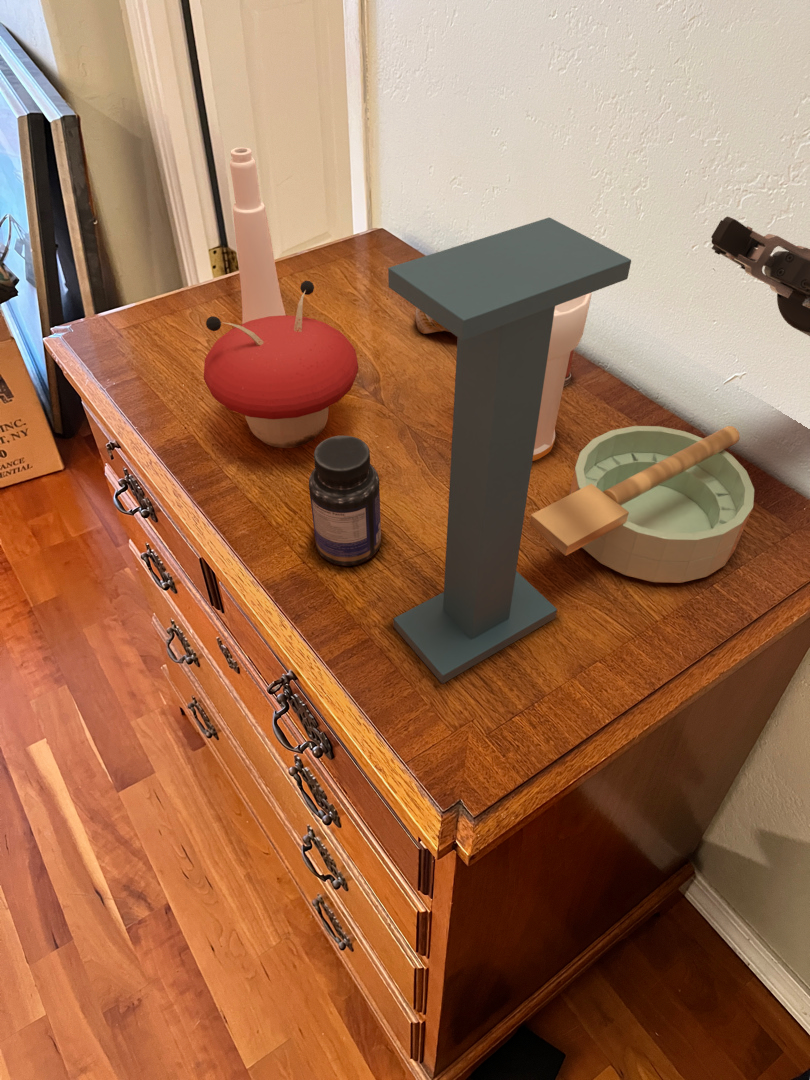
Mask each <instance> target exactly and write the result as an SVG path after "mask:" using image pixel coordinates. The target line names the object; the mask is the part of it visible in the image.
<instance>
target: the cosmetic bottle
mask: <svg viewBox="0 0 810 1080" xmlns="http://www.w3.org/2000/svg"><path fill="white" fill-rule="evenodd" d="M230 156H231V159H230V161H229V168H230V174H231V180H232V181H231V182H232V187H233V193H234V200H235V201H234V202H235V203H234V204H233V205H232V217H233V228H234V235H235V236H234V237H235V246H236V253H237V262H238V272H239V282H240V283H239V284H240V293H241V311H242V313H241V314H242V317H241V318H242V321H241V323H242V324H244V323H246V322H248V321H251V320H255V319H260V318H264V317H268V316H282V315H286V311H285V310H286V309H285V306H284V302H283V297H282V294H281V288H280V283H279V279H278V273H277V267H276V261H275V255H274V249H273V243H272V238H271V237H272V236H271V232H270V226H269V220H268V215H267V210H266V205H265V203H264V202H263V201H261V193H260V185H259V178H258V170H257V163H256V160H255V158H254V157H253V151H252V149H251V148H249V147H235V148H232V149H231V150H230Z"/></svg>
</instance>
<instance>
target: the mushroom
mask: <svg viewBox="0 0 810 1080" xmlns="http://www.w3.org/2000/svg"><path fill="white" fill-rule="evenodd" d="M300 291H301V293H302V295H301V296H300V297H299V301H298V303H297V308H296V313H295V315H288V314H287V315H282V316H268V317H264V318H260V319H255V320H251V321H248V322H246V323H244V324H235V323H232V322H224V321H221V319H220V318H219V317H217V316H209V317H207V319H206V322H205V326H206V328H207V329H208V330H209V331H212V332H217V331H219V330H220V329H221V327H222V324H225V325H227V326H228V325H229V326H232V327H233V328H231V329H230V330H229V331H227V332H226V333H225V334H223V335H221V336H220V337H219V338H218V339H217V340H215V342H214V343H213V345H212V346H211V348H210V349H209V351H208V352H207V354H206V356H205V358H204V363H203V364H204V366H203V380H204V383H205V385H206V387H207V389H208V390H209V392H210V394H211V396H212V397H213V398H214V400H215V401H217V402H218V403H219V404H221V406H223V407H224V408H226V409H227V410H229V411H231V412H234V413H237V414H240V415H243V416H244V417H245V420H246V423H247V426H248V427H249V430H250V431H251V433H252V434H253V435H254V436H255V437H256V438H257V439H259V440H260V441H262V442H263V443H264V444H266V445H268V446H272V447H274V448H281V449H289V448H291V449H292V448H297V447H301V446H304V445H307V444H309V443H311V442H312V441H315V439H316V438H317V437H318V436H319V435H320V434H321V433H322V432H323V431H324V429H325V428H326V425H327V422H328V419H329V412H330V411H329V407H331V406H332V405H335V404H336V403H339V401H341V400H342V398H343V397H345V396H346V394H347V393H349V392H350V391H351V389H352V388H353V385H354V383H355V381H356V379H357V375H358V373H359V362H358V356H357V352H356V349H355V347H354V346H353V344H352V343H351V341H349V339H348V337H346V336H345V335H344V334H343V333H342V332H341V331H340V330H338V329H336V328H335V327H333V326H332V325H329V324H328V323H326V322H323V321H321V320H318V319H314V318H312V317H307V316H303V304H304V297H305V296H310V295H311V294H313V293H314V291H315V286H314V283H313V282H312V281H310V280H304V281H303V282H301V284H300Z"/></svg>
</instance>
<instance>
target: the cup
mask: <svg viewBox="0 0 810 1080" xmlns="http://www.w3.org/2000/svg"><path fill="white" fill-rule="evenodd" d="M592 295H593V292H591V293H589V294H586V295H583V296H581V297H578V298H575V299H573V300H570V301H567V302H565V303H562V304H559V305H557V306H555V311H554V317H553V324H552V331H551V338H550V344H549V351H548V358H547V365H546V372H545V378H544V385H543V392H542V399H541V406H540V412H539V419H538V426H537V433H536V440H535V446H534V453H533V460H532V462H534V461H538V460H540V459H542V458H543V457H545V456H546V455H548V454H549V453H551V451H552V449H553V447H554V445H555V441H556V425H557V420H558V416H559V411H560V405H561V401H562V395H563V391H564V387H565V386H564V381H565V376H566V372H567V367H568V362H569V357H570V352H571V351H572V350H573V349H574V350H575V349H576V348H577V347H578V346H579V345H580V342H581V340H582V338H583V335H584V331H585V326H586V322H587V317H588V313H589V308H590V304H591V299H592ZM574 350H573V351H574Z"/></svg>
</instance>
